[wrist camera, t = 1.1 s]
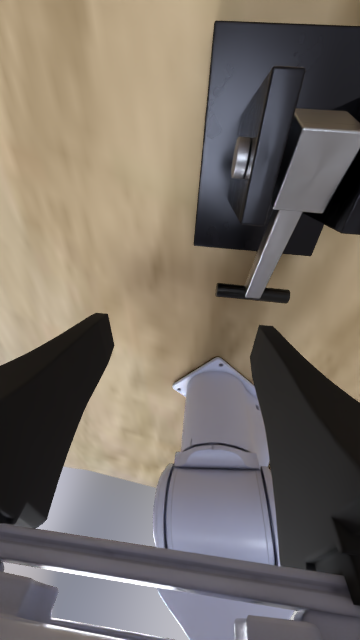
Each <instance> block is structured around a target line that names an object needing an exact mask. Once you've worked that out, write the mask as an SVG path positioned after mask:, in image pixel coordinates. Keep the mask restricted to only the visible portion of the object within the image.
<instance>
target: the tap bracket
mask: <svg viewBox="0 0 360 640" xmlns="http://www.w3.org/2000/svg"><path fill="white" fill-rule="evenodd" d="M296 108H299V109H316V110H334V111H347V112H348V113H349V114H350V115H352V116H353V117H354V118H355V119H356V120H357V121H358V122H359V123H360V26H340V25H315V24H290V23H264V22H239V21H215V23H214V33H213V43H212V54H211V65H210V75H209V86H208V97H207V107H206V118H205V129H204V139H203V150H202V161H201V171H200V182H199V193H198V203H197V214H196V225H195V235H194V246H204V247H215V248H226V249H237V250H248V251H258V248H259V246H260V243H261V240H262V238H263V235H264V232H265V230H266V227H267V225H268V222H269V219H270V217H271V214H272V211H273V209H272V205H271V200H272V196H273V192H274V189H275V185H276V181H277V177H278V173H279V170H280V166H281V162H282V158H283V155H284V151H285V147H286V143H287V140H288V136H289V132H290V128H291V125H292V121H293V117H294V113H295V110H296ZM324 224H325V225H327V226H328V227H330V228H332V229H334V230H336V231H338V232H340V233H344V234H356V235H360V150H359V152H358V154H357V155H356V157H355V159H354V161H353V162H352V164H351V166H350V168H349V169H348V171H347V173H346V175H345V176H344V178H343V180H342V182H341V183H340V185H339V187H338V188H337V190H336V192H335V194H334V195H333V197H332V199H331V201H330V202H329V204H328V206H327V208H326V209H325V211H324V212H323V213H312V212H302V214H301V216H300V218H299V220H298V222H297V224H296V226H295V228H294V230H293V233H292V235H291V237H290V239H289V241H288V243H287V245H286V247H285V249H284V251H283V253H282V254H292V255H303V256H311V255H312V253H313V250H314V248H315V245H316V243H317V241H318V238H319V236H320V233H321V231H322V228H323V226H324Z"/></svg>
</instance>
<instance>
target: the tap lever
mask: <svg viewBox="0 0 360 640" xmlns="http://www.w3.org/2000/svg"><path fill="white" fill-rule="evenodd" d="M359 150H360V123H359V122H358V121H357V120H356V119H355V118H354V117H353V116H352V115H350V114H349V113H348V112H347V111H334V110H316V109H299V108H296V110H295V113H294V117H293V121H292V125H291V128H290V132H289V136H288V140H287V143H286V147H285V151H284V155H283V158H282V162H281V166H280V170H279V173H278V177H277V181H276V185H275V189H274V192H273V196H272V200H271V205H272V209H273V211H272V214H271V217H270V219H269V222H268V225H267V227H266V230H265V232H264V235H263V238H262V240H261V243H260V246H259V248H258V251H257V254H256V256H255V259H254V262H253V264H252V267H251V270H250V272H249V275H248V278H247V280H246V283H245V286H244V285H234V284H223V283H217V285H216V293H215V295H216V296H217V297H227V298H237V299H246V300H256V301H266V302H276V303H288V301H289V299H290V291H289V290H284V289H274V288H265V287H266V285H267V283H268V281H269V279H270V277H271V275H272V273H273V271H274V269H275V267H276V265H277V263H278V261H279V259H280V257H281V255H282V253H283V251H284V249H285V247H286V245H287V243H288V241H289V239H290V237H291V235H292V233H293V230H294V228H295V226H296V224H297V222H298V220H299V218H300V216H301V214H302V212H312V213H323V212H324V211H325V209H326V208H327V206H328V204H329V202H330V201H331V199H332V197H333V195H334V194H335V192H336V190H337V188H338V187H339V185H340V183H341V182H342V180H343V178H344V176H345V175H346V173H347V171H348V169H349V168H350V166H351V164H352V162H353V161H354V159H355V157H356V155H357V154H358V152H359Z"/></svg>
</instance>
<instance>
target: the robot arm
mask: <svg viewBox="0 0 360 640" xmlns="http://www.w3.org/2000/svg"><path fill="white" fill-rule="evenodd" d="M113 348H114V342H113V337H112V332H111V327H110V322H109V317H108V314H103V313H95V314H93V315H91V316H89V317H88V318H86V319H84V320H83V321H81V322H80V323H78V324H76V325H75V326H73V327H72V328H70V329H68V330H67V331H65V332H64V333H62V334H60V335H59V336H57V337H55V338H54V339H52V340H50V341H48V342H47V343H45V344H43V345H41V346H40V347H38V348H36V349H34V350H32V351H31V352H29V353H27V354H25V355H23V356H21V357H18V358H16V359H14V360H12V361H10V362H8V363H6V364H3V365H1V366H0V640H173V639H168V638H162V637H157V636H152V635H146V634H141V633H135V632H130V631H125V630H119V629H113V628H108V627H102V626H96V625H91V624H84V623H79V622H74V621H68V620H62V619H57V618H51V612H52V609H53V606H54V603H55V601H56V598H57V595H58V588H57V587H53V586H50V585H46V584H43V583H40V582H37V581H35V580H33V579H31V578H28V577H23V576H19V575H14V574H9V573H5V572H4V565H3V562H7V563H13V564H19V565H26V566H31V567H37V568H43V569H49V570H55V571H61V572H67V573H73V574H79V575H85V576H91V577H97V578H103V579H109V580H115V581H121V582H127V583H133V584H139V585H145V586H151V587H157V590H158V593H159V595H160V596H161V598H162V600H163V601H164V603H165V604H166V606H167V607H168V608H169V610H170V612H171V613H172V615H173V616H174V617H175V619H176V620H177V622H178V623H179V624H180V626H181V627H182V629H183V630H184V632H185V634H186V635H187V637H188V638H189V640H360V403H359V402H358V401H356V400H355V399H354V398H352V397H351V396H349V395H348V394H347V393H346V392H344V391H343V390H342V389H340V388H339V387H338V386H336V385H335V384H334V383H333V382H331V381H330V380H329V379H328V378H326V377H325V376H324V375H323V374H322V373H321V372H320V371H318V370H317V369H316V368H315V367H314V366H313V365H312V364H310V363H309V362H308V361H307V360H306V359H305V358H304V357H303V356H302V355H301V354H300V353H299V352H298V351H297V350H296V349H295V348H294V347H293V346H292V345H291V344H290V343H289V342H288V341H287V340H286V339H285V338H284V337H283V336H282V335H281V334H280V333H279V332H278V331H277V330H276V329H275V328H274V327H273V326H264V325H259V327H258V331H257V334H256V338H255V341H254V345H253V348H252V352H251V356H250V361H251V371H252V378H253V382H254V385H253V384H252V383H250V382H249V381H248V380H247V379H246V378H244V377H243V376H242V375H241V374H240V373H238V372H237V371H236V370H235V369H233V368H232V367H231V366H230V365H229V364H227V363H226V362H225V361H224V360H223V359H221V358H219V357H216V358H214V359H212V360H211V361H209V362H208V363H206V364H204V365H203V366H201V367H200V368H198V369H196V370H195V371H193V372H191V373H190V374H188V375H187V376H185V377H183V378H182V379H180V380H179V381H177V382H175V383H174V384H173V388H174V389H175V390H176V391H178V392H179V393H181V394H182V395H184V396H185V397H186V402H185V413H184V423H183V434H182V444H181V452H176V454H175V462H174V464H168V465H167V467H166V468H165V470H164V471H163V472H162V474H161V476H160V478H159V481H158V484H157V488H156V495H155V501H154V510H153V534H154V541H155V545H156V547H152V546H145V545H138V544H132V543H125V542H119V541H113V540H106V539H100V538H93V537H87V536H80V535H73V534H67V533H60V532H54V531H47V530H41V529H35V528H37V527H39V526H40V525H41V524H43V523H44V522H45V521H46V520H47V517H48V513H49V510H50V506H51V503H52V500H53V497H54V493H55V490H56V487H57V484H58V480H59V477H60V474H61V471H62V468H63V465H64V463H65V460H66V457H67V454H68V451H69V448H70V446H71V443H72V440H73V437H74V435H75V432H76V429H77V427H78V424H79V422H80V419H81V417H82V414H83V412H84V410H85V408H86V405H87V403H88V401H89V399H90V397H91V396H92V394H93V392H94V390H95V388H96V386H97V384H98V382H99V380H100V378H101V376H102V374H103V372H104V371H105V369H106V367H107V365H108V362H109V360H110V357H111V354H112V351H113ZM220 363H222V364H220ZM269 461H270V467H271V470H270V469H269V468H268V464H269ZM294 611H300V612H297V614H296V615H295V617H294V620H289V619H290V618H291V616H292V615H293V612H294Z"/></svg>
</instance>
